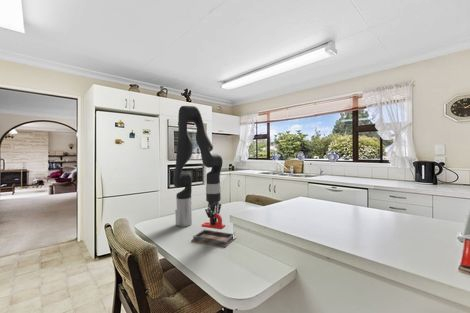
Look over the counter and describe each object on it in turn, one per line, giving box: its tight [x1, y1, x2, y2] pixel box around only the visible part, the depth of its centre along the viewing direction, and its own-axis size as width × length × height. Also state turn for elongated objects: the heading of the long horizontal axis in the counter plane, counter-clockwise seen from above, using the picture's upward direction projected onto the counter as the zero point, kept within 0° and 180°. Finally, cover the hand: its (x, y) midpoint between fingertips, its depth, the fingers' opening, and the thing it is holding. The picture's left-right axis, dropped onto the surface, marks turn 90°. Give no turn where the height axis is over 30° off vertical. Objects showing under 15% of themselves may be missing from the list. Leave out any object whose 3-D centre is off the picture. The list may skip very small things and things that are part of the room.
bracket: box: [201, 213, 226, 230], centre depth 118 cm, size 12×4×8 cm, turn 66°
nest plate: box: [191, 229, 235, 248], centre depth 117 cm, size 20×13×2 cm, turn 66°
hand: (213, 224), depth 116 cm, fingers closed on bracket, 1 cm apart
